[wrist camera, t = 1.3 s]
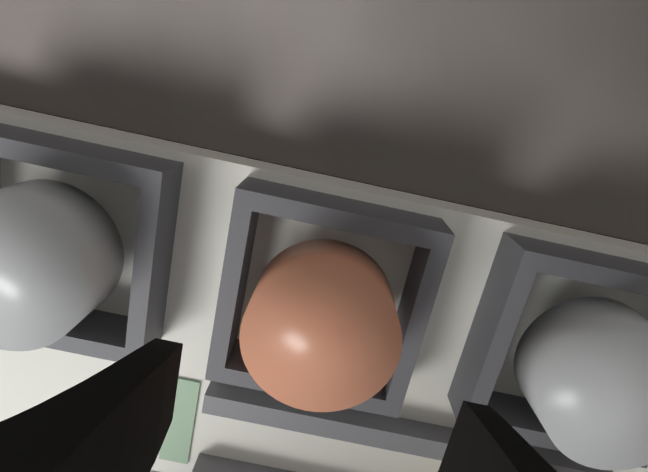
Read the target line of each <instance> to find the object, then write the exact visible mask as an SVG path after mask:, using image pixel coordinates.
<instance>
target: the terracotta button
mask: <svg viewBox="0 0 648 472" xmlns="http://www.w3.org/2000/svg"><path fill="white" fill-rule="evenodd" d="M239 341H240V350H241V355H242V358H243V361H244V364H245V366H246V368H247V370H248V372H249V374H250V375H251V376H252V378H253V379H254V381H255V382H256V383H257V384H258V385H259V386H260V387H261V388H262V389H263V390H264V391H265V392H266V393H267V394H269V395H270V396H272V397H273V398H275V399H276V400H278V401H280V402H282V403H284V404H286V405H288V406H291V407H293V408H297V409H301V410H304V411H311V412H334V411H340V410H345V409H348V408H351V407H354V406H356V405H359V404H361V403H363V402H365V401H366V400H368V399H370V398H371V397H373V396H374V395H375V394H377V393H378V392H379V391H380V390H381V389H382V388H383V387H384V386H385V385H386V384H387V382H388V381H389V380H390V378H391V377H392V375H393V374H394V372H395V370H396V368H397V365H398V363H399V360H400V356H401V351H402V331H401V326H400V322H399V318H398V314H397V310H396V307H395V303H394V299H393V295H392V291H391V288H390V284H389V282H388V279H387V277H386V275H385V273H384V272H383V270H382V269H381V267H380V266H379V265H378V263H377V262H376V261H375V260H374V259H373V258H372V257H370V256H369V255H368V254H367V253H365V252H364V251H362V250H361V249H359V248H357V247H355V246H353V245H350V244H348V243H345V242H341V241H337V240H330V239H315V240H308V241H304V242H300V243H297V244H295V245H292V246H290V247H288V248H287V249H285V250H283V251H282V252H280V253H279V254H278V255H276V256H275V257H274V258H273V259H272V260H271V261H270V262H269V263H268V265H267V266H266V267H265V269H264V270H263V272H262V274H261V276H260V278H259V280H258V283H257V285H256V287H255V290H254V292H253V294H252V297H251V299H250V301H249V304H248V306H247V308H246V311H245V313H244V316H243V318H242V322H241V326H240V334H239Z"/></svg>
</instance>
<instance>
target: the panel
mask: <svg viewBox="0 0 648 472" xmlns="http://www.w3.org/2000/svg"><path fill="white" fill-rule="evenodd" d="M34 179H49V180H55V181H60V182H63V183H67V184H69V185H72V186H74V187H76V188H78V189H80V190H82V191H84V192H85V193H87V194H88V195H89V196H91V197H92V198H93V199H95V200H96V201H97V202H98V203H99V204H100V205H101V206H102V207H103V208H104V209H105V210H106V212H107V213H108V214H109V216H110V217H111V218H112V220H113V222H114V224H115V225H116V227H117V229H118V232H119V234H120V237H121V241H122V245H123V251H124V265H123V271H122V274H121V277H120V280H119V282H118V284H117V286H116V288H115V289H114V290H113V292H112V293H111V294H110V295H109V296H108V297H107V298H106V299H105V300H104V301H103V302H102V303H101V304H100V305H98V306H97V307H96V308H95V309H94V310H93V311H92V312H91V313H89V314H88V315H87V316H86V317H85V318H84V319H83V320H82V321H80V322H79V323H78V324H77V325H76V326H75V327H74V328H73V329H72V330H70V331H69V332H68V333H67V334H66V335H65V336H63V337H62V338H61V339H59V340H58V341H56V342H55V343H53V344H51V345H49V346H46V347H43V348H41V349H36V350H32V351H7V350H0V422H1V421H3V420H5V419H8V418H10V417H12V416H14V415H17V414H19V413H21V412H23V411H25V410H28V409H30V408H32V407H34V406H36V405H38V404H40V403H42V402H44V401H46V400H48V399H50V398H52V397H54V396H55V395H57V394H59V393H61V392H63V391H65V390H67V389H69V388H71V387H73V386H75V385H77V384H79V383H80V382H82V381H84V380H86V379H88V378H89V377H91V376H93V375H95V374H96V373H98V372H100V371H101V370H103V369H105V368H107V367H108V366H110V365H112V364H113V363H115V362H117V361H118V360H120V359H122V358H123V357H125V356H127V355H128V354H130V353H131V352H133V351H135V350H136V349H138V348H140V347H141V346H143V345H145V344H146V343H148V342H150V341H152V340H153V339H155V338H158V339H163V340H168V341H173V342H178V343H183V348H182V355H181V362H180V369H179V376H178V384H177V391H176V398H175V405H174V412H173V419H172V422H171V425H170V427H169V430H168V432H167V434H166V437H165V439H164V442H163V444H162V447H161V449H160V451H159V454H158V456H157V458H156V461H155V463H154V465H153V467H152V468H151V470H155V471H160V472H438V470H439V467H440V464H441V462H442V459H443V456H444V453H445V450H446V448H447V445H448V442H449V439H450V436H451V434H452V431H453V428H454V425H455V422H456V420H457V417H458V414H459V411H460V408H461V405H462V403H463V401H468V402H473V403H478V404H483V405H488V406H490V407H491V408H493V409H494V410H495V411H496V412H497V413H498V414H499V415H500V416H501V417H503V418H504V419H505V420H506V421H507V422H508V423H509V424H510V425H511V426H512V427H513V428H514V429H515V430H516V431H517V432H518V433H519V434H520V435H521V436H522V437H523V438H524V439H525V440H526V441H527V442H528V443H529V444H530V445H531V446H532V447H533V448H534V449H535V450H536V451H537V452H538V453H539V454H540V455H541V456H542V457H543V458H544V459H545V460H546V461H547V462H548V463H549V464H550V465H551V466H552V467H553V468H554V469H555V470H556V471H557V472H648V465H645V466H642V467H638V468H634V469H628V470H616V471H613V470H600V469H594V468H590V467H586V466H584V465H581V464H579V463H577V462H575V461H573V460H571V459H569V458H568V457H567V456H565V455H564V454H563V453H562V452H561V451H560V450H559V449H558V448H557V447H556V446H555V445H554V443H553V442H552V440H551V439H550V437H549V436H548V434H547V432H546V431H545V429H544V427H543V426H542V424H541V422H540V421H539V419H538V417H537V416H536V414H535V413H534V411H533V409H532V408H531V406H530V404H529V403H528V401H527V399H526V398H525V396H524V394H523V393H522V391H521V389H520V388H519V386H518V384H517V381H516V378H515V373H514V356H515V351H516V348H517V345H518V343H519V341H520V338H521V337H522V335H523V333H524V332H525V330H526V329H527V328H528V327H529V325H530V324H531V323H532V322H533V321H534V320H535V319H536V318H537V317H539V316H540V315H541V314H543V313H544V312H545V311H547V310H549V309H550V308H552V307H554V306H556V305H558V304H560V303H562V302H566V301H569V300H572V299H577V298H582V297H603V298H610V299H613V300H617V301H619V302H622V303H624V304H626V305H628V306H629V307H631V308H632V309H634V310H635V311H637V312H638V313H639V314H641V315H642V316H643V317H645V318H646V319H647V320H648V245H645V244H640V243H636V242H631V241H627V240H622V239H617V238H613V237H608V236H604V235H599V234H594V233H590V232H585V231H581V230H576V229H571V228H567V227H562V226H558V225H553V224H548V223H544V222H539V221H535V220H530V219H525V218H521V217H516V216H512V215H507V214H502V213H498V212H493V211H489V210H484V209H479V208H475V207H470V206H466V205H461V204H456V203H452V202H447V201H443V200H438V199H433V198H429V197H424V196H420V195H415V194H410V193H406V192H401V191H397V190H392V189H387V188H383V187H378V186H374V185H369V184H364V183H360V182H355V181H351V180H346V179H341V178H337V177H332V176H328V175H323V174H318V173H314V172H309V171H305V170H300V169H296V168H291V167H286V166H282V165H277V164H273V163H268V162H263V161H259V160H254V159H250V158H245V157H240V156H236V155H231V154H227V153H222V152H217V151H213V150H208V149H204V148H199V147H194V146H190V145H185V144H181V143H176V142H171V141H167V140H162V139H158V138H153V137H148V136H144V135H139V134H135V133H130V132H125V131H121V130H116V129H112V128H107V127H102V126H98V125H93V124H89V123H84V122H79V121H75V120H70V119H66V118H61V117H56V116H52V115H47V114H43V113H38V112H33V111H29V110H24V109H20V108H15V107H10V106H6V105H1V104H0V188H2V187H6V186H9V185H13V184H16V183H20V182H24V181H27V180H34ZM315 239H330V240H337V241H341V242H345V243H348V244H350V245H353V246H355V247H357V248H359V249H361V250H362V251H364V252H365V253H367V254H368V255H369V256H370V257H372V258H373V259H374V260H375V261H376V262H377V263H378V265H379V266H380V267H381V269H382V270H383V272H384V273H385V275H386V277H387V279H388V282H389V284H390V288H391V291H392V295H393V299H394V303H395V307H396V310H397V314H398V318H399V322H400V326H401V331H402V351H401V356H400V360H399V363H398V365H397V368H396V370H395V372H394V374H393V375H392V377H391V378H390V380H389V381H388V382H387V384H386V385H385V386H384V387H383V388H382V389H381V390H380V391H379V392H378V393H377V394H375V395H374V396H373V397H371V398H370V399H368V400H366V401H365V402H363V403H361V404H359V405H356V406H354V407H351V408H348V409H345V410H340V411H334V412H311V411H304V410H301V409H297V408H293V407H291V406H288V405H286V404H284V403H282V402H280V401H278V400H276V399H275V398H273V397H272V396H270V395H269V394H267V393H266V392H265V391H264V390H263V389H262V388H261V387H260V386H259V385H258V384H257V383H256V382H255V381H254V379H253V378H252V376H251V375H250V374H249V372H248V370H247V368H246V366H245V364H244V361H243V358H242V355H241V350H240V341H239V334H240V326H241V322H242V318H243V316H244V313H245V311H246V308H247V306H248V304H249V301H250V299H251V297H252V294H253V292H254V290H255V287H256V285H257V283H258V280H259V278H260V276H261V274H262V272H263V270H264V269H265V267H266V266H267V265H268V263H269V262H270V261H271V260H272V259H273V258H274V257H275V256H276V255H278V254H279V253H280V252H282V251H283V250H285V249H287V248H288V247H290V246H292V245H295V244H297V243H300V242H304V241H308V240H315Z"/></svg>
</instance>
